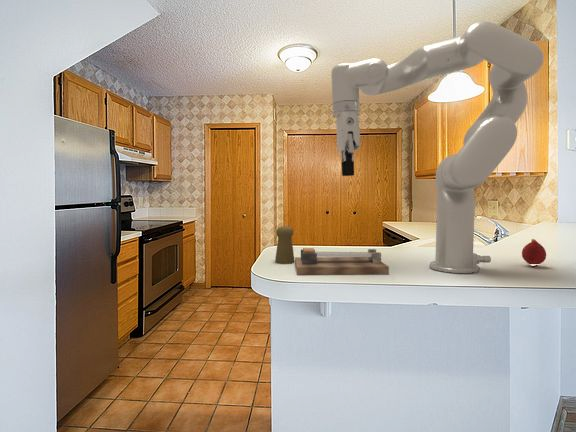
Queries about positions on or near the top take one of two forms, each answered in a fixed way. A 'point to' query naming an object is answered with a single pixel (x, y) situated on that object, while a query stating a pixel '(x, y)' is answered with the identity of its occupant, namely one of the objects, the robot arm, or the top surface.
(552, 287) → the top surface
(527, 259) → the onion
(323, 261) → the board
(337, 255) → the hinged lever bar
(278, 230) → the pepper mill
